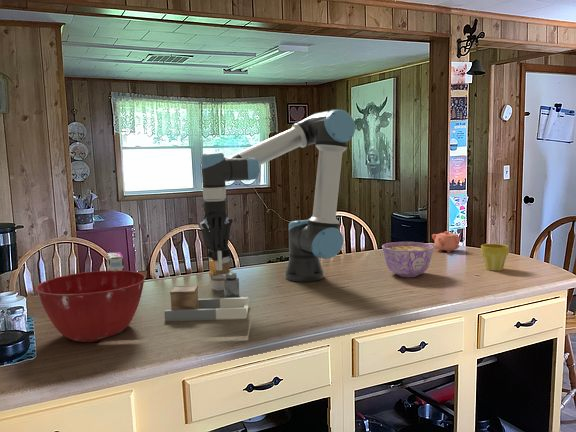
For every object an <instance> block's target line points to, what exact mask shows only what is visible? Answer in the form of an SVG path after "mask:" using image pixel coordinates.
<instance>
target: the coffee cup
mask: <svg viewBox="0 0 576 432" xmlns="http://www.w3.org/2000/svg"><path fill="white" fill-rule="evenodd" d="M230 257H231V250H230V247H227V248H225V250H224V251H223V259H222V270H220V271H219V270H216V275H218V274H226V273H230V263H231V262H230ZM207 258H208V261H209V260H212V251H210V250H207ZM208 267H209V269H210V264H209V263H208ZM210 279H211V287H212V290H213V291H224V279H226V278H221V279H212V276H210Z"/></svg>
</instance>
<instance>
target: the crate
mask: <svg viewBox="0 0 576 432" xmlns="http://www.w3.org/2000/svg"><path fill="white" fill-rule="evenodd" d="M169 296H170V305H171V306H170V307H171V308H170V310H183V309H199V303H198V299H199V284H196V285H195V284H194V285H193V284H189V285H188V284H187V285H174V287H173V288H172V289H171V291H170V292H169Z"/></svg>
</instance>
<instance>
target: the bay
mask: <svg viewBox="0 0 576 432" xmlns="http://www.w3.org/2000/svg"><path fill="white" fill-rule="evenodd" d="M198 303H199V309H183V310H171V309H164V321H165V322H182V321H183V322H185V321H186V322H189V321H216V320H219V321H220V320H245V319H246V320H247V318H248V313H249V307H250V304H249V303H250V300H249V296H246V297H241V298H220V297H219V298H218V297H217V298H215V297H213V298H198Z"/></svg>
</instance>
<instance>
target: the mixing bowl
mask: <svg viewBox="0 0 576 432" xmlns="http://www.w3.org/2000/svg"><path fill="white" fill-rule="evenodd" d="M145 280H146V276H145V274H144V273H141V272H138V271H132V270H124V271H117V270H113V271H107V270H96V271H95V270H94V271H86V272H80V273H78V272H77V273H73V274H72V273H71V274H67V275H62V276H58V277H54V278H50V279H47V280H44V281H43V282H41V283H39V284H37V285H36V287H35V291H36V292H37V293H38V296H39V300H40V302H41V304H42V307H43V310H44V311H45V313H46V315H47V317H48V318H49V320H50V321H51V324H52V325H53V326H54V327H55V329H56V330H57V331H58V332H59V333H60V334H61V335H62V336H63V337H64V338H68V339H69V340H71V341H74V342H77V343H78V342H79V343H93V342H100V341H102V340H101V339H106V338H109V337H113V336H115V335H118V334H120V333H122V331H124V330H126V328H128V326H129V325H130V324H131V322H132V320H133V318H134V317H135V314H136V312H137V309H138V306H139V303H140V301H141V297H142V293H143V289H144V283H145Z"/></svg>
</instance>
